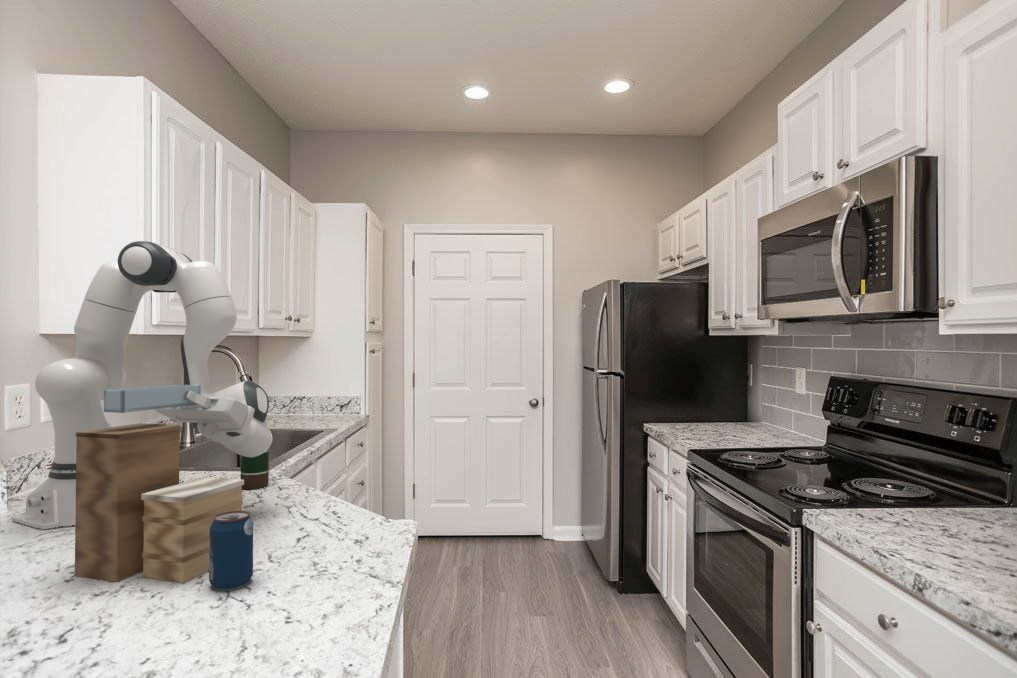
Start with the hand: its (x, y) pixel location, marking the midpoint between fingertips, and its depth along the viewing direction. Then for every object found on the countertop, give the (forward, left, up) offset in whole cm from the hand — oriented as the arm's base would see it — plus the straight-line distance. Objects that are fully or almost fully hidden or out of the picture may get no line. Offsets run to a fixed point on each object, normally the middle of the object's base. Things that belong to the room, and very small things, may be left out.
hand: (175, 393), depth 119 cm
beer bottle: (-21, +48, -32) cm, 62 cm away
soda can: (+25, -12, -32) cm, 42 cm away
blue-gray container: (0, -5, -2) cm, 5 cm away
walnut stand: (0, -10, -32) cm, 33 cm away
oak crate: (+12, -7, -32) cm, 35 cm away
